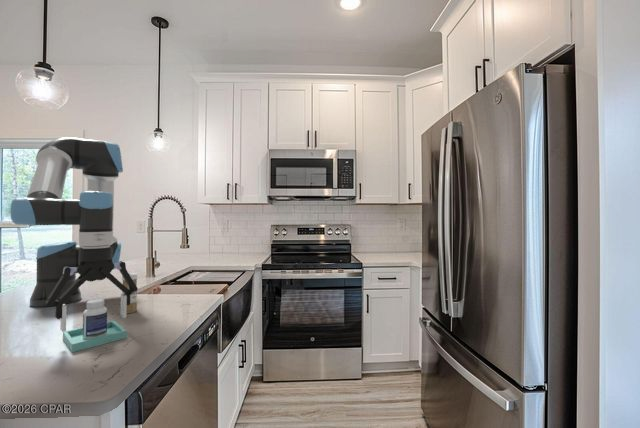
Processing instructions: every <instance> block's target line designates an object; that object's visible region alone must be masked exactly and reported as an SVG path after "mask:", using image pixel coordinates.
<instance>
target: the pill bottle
mask: <svg viewBox="0 0 640 428" xmlns="http://www.w3.org/2000/svg"><path fill="white" fill-rule="evenodd" d="M107 322H108V308H107V307H105V299H103V298H102V299H101V298H99V299H91V300H88V301H86V309H84V311H83V312H82V327H83V338H84V339H91V338H95V337H99V336H103V335H106V334H107Z"/></svg>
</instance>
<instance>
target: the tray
mask: <svg viewBox="0 0 640 428" xmlns="http://www.w3.org/2000/svg"><path fill="white" fill-rule="evenodd" d="M127 338H128V330H127V329H125V328H124V327H123V326H121V324H119V323H118V322H117V321H115V320H110V321H107V334H106V335H103V336H99V337H95V338H91V339H84V338H83V326H81V327H79V328H73V329H70V330H66V331H64V332H62V340H63V341H64V343H65V345H66V346H67V348H68V349H69V351H70V352H71V353H75V352H79V351H82V350H86V349H87V350H88V349H90V348H93V347H97V346H101V345H104V344H108V343H112V342H116V341H119V340H123V339H124V340H125V339H127Z"/></svg>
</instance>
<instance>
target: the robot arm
mask: <svg viewBox="0 0 640 428" xmlns="http://www.w3.org/2000/svg"><path fill="white" fill-rule="evenodd" d="M35 162H36V164H37V166H36V169H35V171H34V174H33V178H32V181H31V183H30V186H29V189H28V192H27V194H26V197H16V198H14V199H12V201H11V204H10V218H11V222H12V223H13V224H15V225H17V226H62V225H63V226H76V225H77V226H79V230H78V243H77V241H76V240H69V241H68V240H67V241H61V242H53V243H48V244H44V245H41V246H39V247H37V252H36V257H35V259H36V284H35V286H34V289H33V291H32V293H31V297H30V298H29V306H31V307H33V308H34V307H35V308H36V307H37V308H39V307H40V308H43V307H54V313H55V314H54V317H55V318H56V320H60V321H59V322H60V325H59V326H60V331H61V333H63V332H64V331H67V305H66V304H69V303H74V302H77V301H79V300H81V299H82V292H81V289H80V288H81V286H82V285H83V284H85V282H94V281H103V280H105V279H108V280H109V281H110V282H111V283H112V284H113V285H115V287H117V288H118V289H119V290H121V292H122V291H123V292H124V294H122V293H121V294H120V317H121V318H122V319H126V318H127V313H126V309H127V305H130V295H131V294H132V292H134V291H137V292H138V289H139V288H138V286H137V287H136V285H135V283H134V282H133V280H132V278H131V277H130V275H129V273H130V272H128V270H127V267H126V262H124V261H123V260H122V261H121V260H120V258H121V254H122V253H121V251H122V243H121V242H118V238H117V237H115V235H114V210H115V209H114V207H115V206H114V201H115V199H114V198H115V196H114V195H115V180H116V179H118V178H119V175H120V174H119V173H123V172H124V169H123V160H122V153H121V148H120V145H119V144H117V142H110V141H107V140H96V139H86V138H79V137H72V136H71V137H68V136H66V137H60V138H56V139H54V140H51V141H49V142H47V143H46V144H44V145H42V146H41V148H39V150H38V151H37V153H36V156H35ZM70 169H76V170H82V175H83V176H84V177H85V178H86V179H87V191H81V192H80V194H79V199H74V198H73V199H69V198H68V199H66V198H63V194H64V189H65V183H66V178H67V173H68V171H69V170H70ZM114 270H118V271H119V273H120V274H121V275H122V276H123V277H124V279H125V281H126V282H127V284H128V286H129V287H130V288H129V289H127V288H126V287H125V286H124V285H123V282H121V281H120V280H119V279H117V278H116V277H115V276H114V275H113V274H112V271H114ZM77 274H79V276H78V277H76V276H77ZM122 276H121V277H122Z"/></svg>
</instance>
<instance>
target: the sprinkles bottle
mask: <svg viewBox="0 0 640 428" xmlns="http://www.w3.org/2000/svg"><path fill="white" fill-rule="evenodd" d="M128 273H129V275H130V277H131V278H132V280H133V282H134V283H135V285H136V287H137V288H138V285H137V283H138V281H137V280H138V273H136V272H128ZM121 280H122V284H123V285H124V286H125V287H126V288H127V289H129V288H130V287H129V286H128V284H127V282H126V281H125V279H124V277H123V276H121ZM121 292H122V293H121V294H124V292H123V291H121ZM137 301H138V290H137V291H134V292H132V294H131V295H130V305H127V309H126V314H131V313H134V312H136V311H138V307H137Z"/></svg>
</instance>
